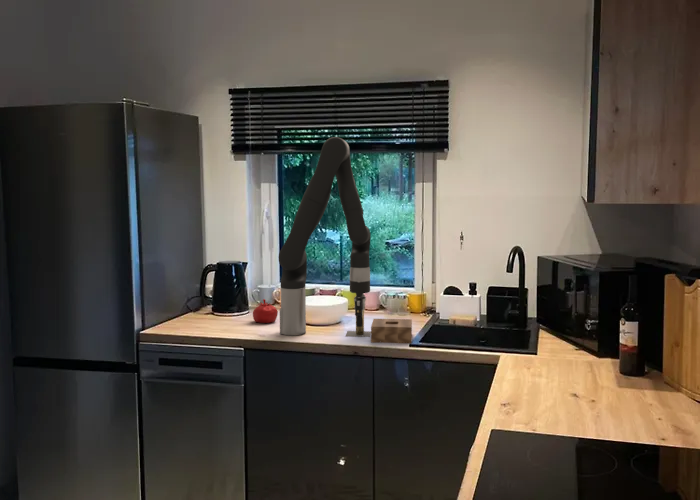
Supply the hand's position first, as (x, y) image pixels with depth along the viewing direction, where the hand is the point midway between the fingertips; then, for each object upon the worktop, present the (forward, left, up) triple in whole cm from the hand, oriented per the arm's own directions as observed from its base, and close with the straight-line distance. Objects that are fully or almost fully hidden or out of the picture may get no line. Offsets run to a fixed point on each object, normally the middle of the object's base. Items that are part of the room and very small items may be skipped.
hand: (359, 324), depth 246 cm
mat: (-1, 0, -4) cm, 4 cm away
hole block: (+12, -6, -4) cm, 14 cm away
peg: (0, 0, -3) cm, 3 cm away
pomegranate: (-40, +20, -4) cm, 45 cm away
